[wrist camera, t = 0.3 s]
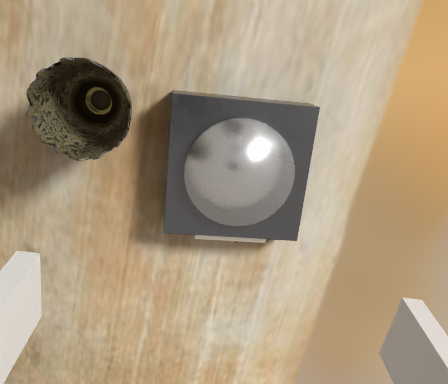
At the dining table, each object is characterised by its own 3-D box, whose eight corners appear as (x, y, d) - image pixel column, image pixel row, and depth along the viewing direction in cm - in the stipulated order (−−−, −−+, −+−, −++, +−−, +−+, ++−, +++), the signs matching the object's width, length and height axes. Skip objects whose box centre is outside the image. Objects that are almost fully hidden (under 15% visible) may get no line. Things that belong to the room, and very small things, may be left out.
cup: (86, 153, 39) (62, 177, 31) (42, 81, 36) (3, 87, 29) (156, 118, 38) (148, 133, 31) (116, 42, 36) (96, 39, 28)
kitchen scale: (173, 90, 37) (171, 93, 34) (310, 103, 39) (322, 108, 35) (164, 228, 42) (162, 244, 38) (288, 235, 43) (297, 251, 40)
